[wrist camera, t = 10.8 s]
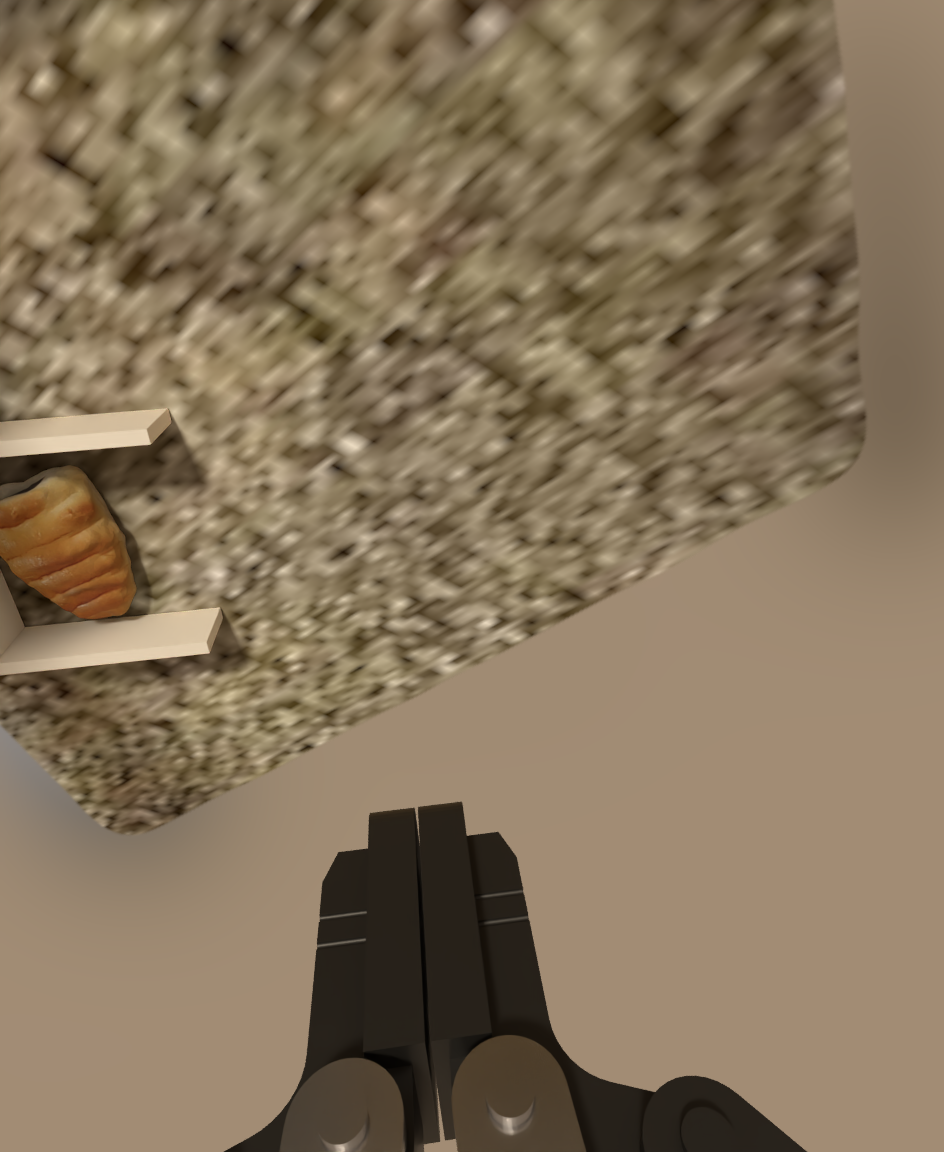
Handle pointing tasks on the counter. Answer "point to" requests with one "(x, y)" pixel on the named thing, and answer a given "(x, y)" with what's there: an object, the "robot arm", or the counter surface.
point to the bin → (87, 643)
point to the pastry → (66, 543)
